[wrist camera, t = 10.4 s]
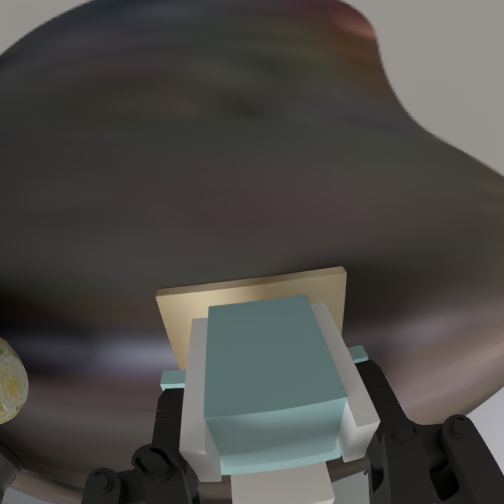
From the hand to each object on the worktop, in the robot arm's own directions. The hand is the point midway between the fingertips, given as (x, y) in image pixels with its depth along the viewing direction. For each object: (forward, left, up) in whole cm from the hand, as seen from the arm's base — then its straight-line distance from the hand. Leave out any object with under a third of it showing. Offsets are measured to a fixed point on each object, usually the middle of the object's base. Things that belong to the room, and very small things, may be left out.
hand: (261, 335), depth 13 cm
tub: (0, -28, -4) cm, 28 cm away
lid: (0, -7, -1) cm, 7 cm away
